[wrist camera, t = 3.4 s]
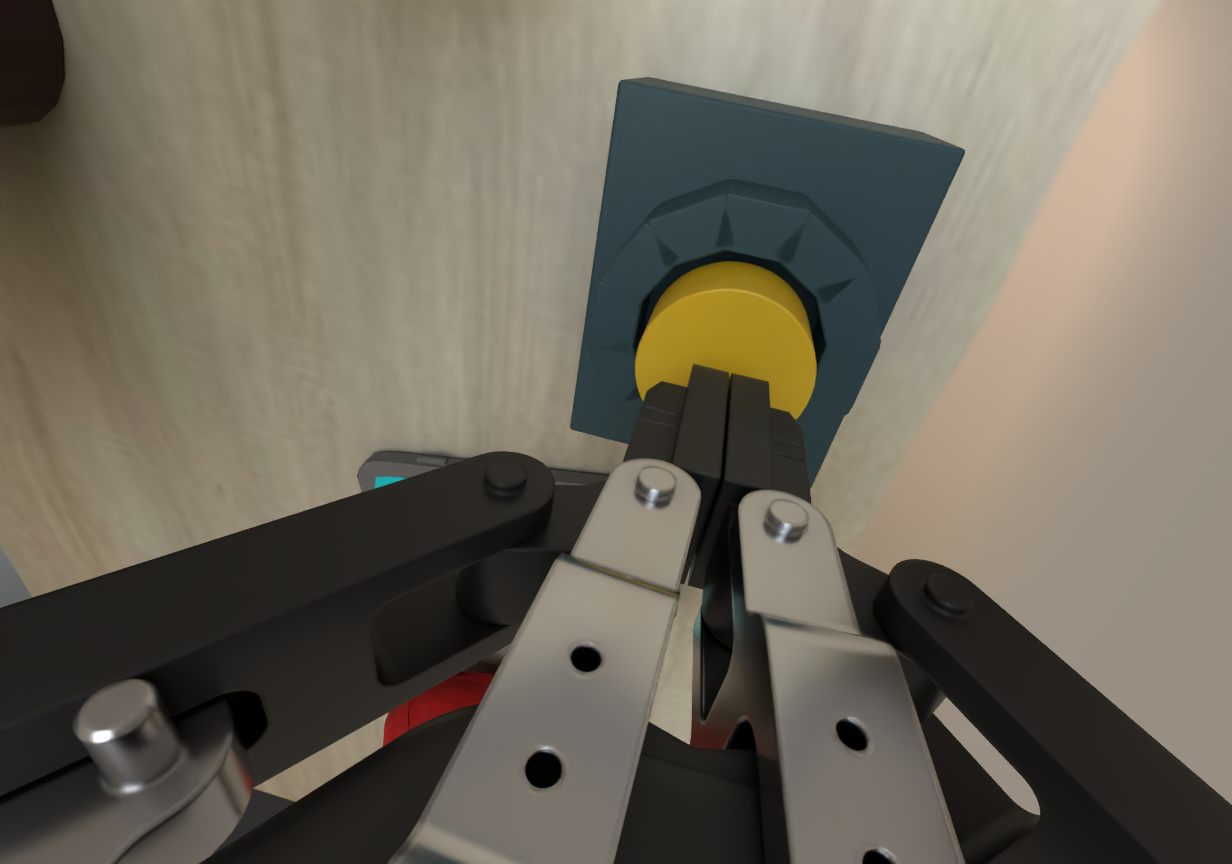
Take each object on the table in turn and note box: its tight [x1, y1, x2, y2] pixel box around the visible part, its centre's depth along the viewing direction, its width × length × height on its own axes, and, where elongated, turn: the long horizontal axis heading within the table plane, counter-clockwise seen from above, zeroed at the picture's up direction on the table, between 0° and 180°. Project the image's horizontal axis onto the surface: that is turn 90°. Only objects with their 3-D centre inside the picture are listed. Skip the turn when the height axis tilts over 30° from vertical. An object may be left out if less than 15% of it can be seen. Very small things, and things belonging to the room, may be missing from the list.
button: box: [635, 261, 817, 420], centre depth 14 cm, size 4×4×2 cm
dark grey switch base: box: [570, 77, 965, 489], centre depth 17 cm, size 10×8×6 cm
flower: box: [383, 672, 494, 746], centre depth 31 cm, size 9×10×30 cm
